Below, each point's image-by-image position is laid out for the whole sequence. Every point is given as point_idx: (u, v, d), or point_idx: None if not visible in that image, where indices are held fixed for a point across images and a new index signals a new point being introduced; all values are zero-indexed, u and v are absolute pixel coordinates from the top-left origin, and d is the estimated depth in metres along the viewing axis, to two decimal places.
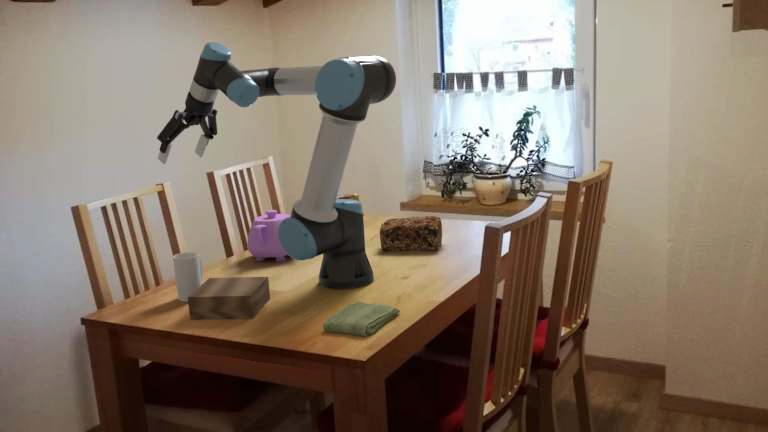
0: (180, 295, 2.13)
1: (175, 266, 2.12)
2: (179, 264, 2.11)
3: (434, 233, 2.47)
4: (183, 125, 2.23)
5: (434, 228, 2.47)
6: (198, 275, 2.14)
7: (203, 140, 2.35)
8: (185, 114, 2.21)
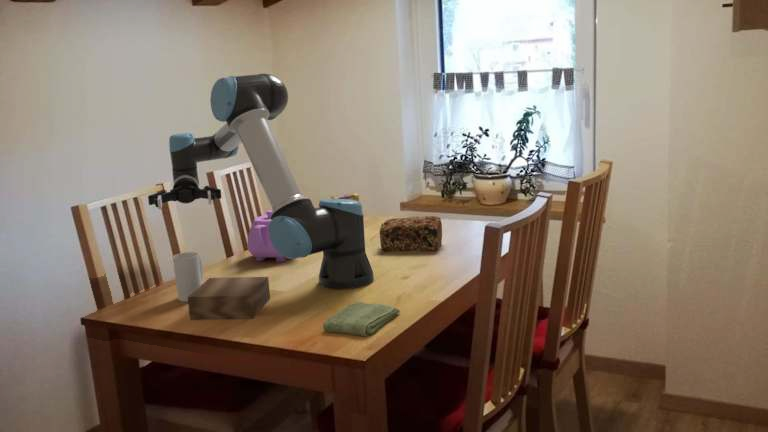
0: (180, 295, 2.13)
1: (175, 266, 2.12)
2: (179, 264, 2.11)
3: (434, 233, 2.47)
4: None
5: (433, 228, 2.47)
6: (198, 275, 2.14)
7: None
8: None
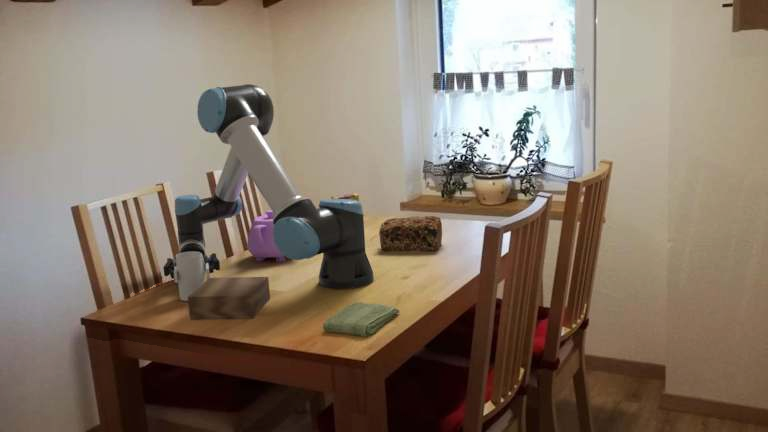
0: (181, 294, 2.13)
1: (178, 265, 2.12)
2: (182, 263, 2.11)
3: (434, 233, 2.47)
4: None
5: (433, 228, 2.47)
6: (200, 275, 2.14)
7: None
8: None
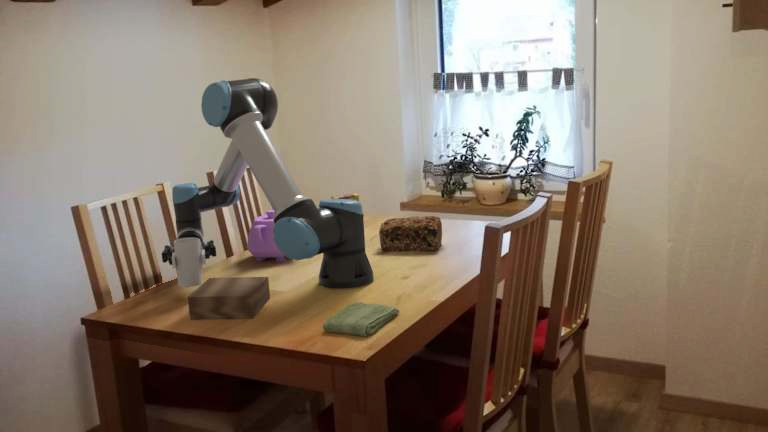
0: (180, 280, 2.12)
1: (176, 250, 2.11)
2: (180, 248, 2.10)
3: (433, 233, 2.47)
4: None
5: (433, 228, 2.47)
6: (199, 260, 2.13)
7: None
8: (173, 247, 2.26)
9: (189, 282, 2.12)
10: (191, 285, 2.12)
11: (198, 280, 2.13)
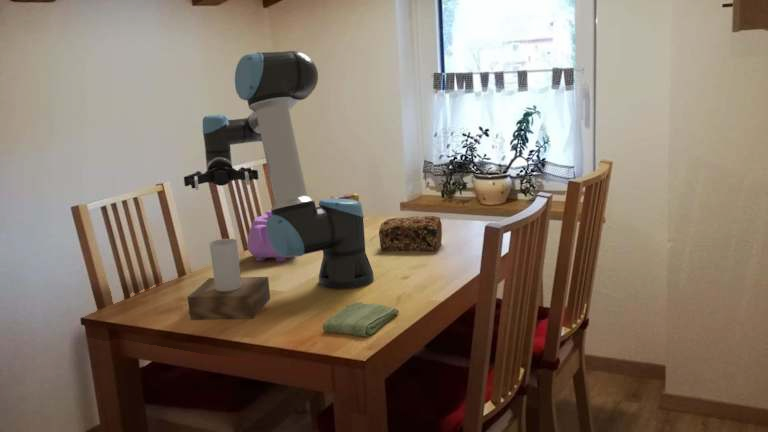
0: (218, 285, 1.99)
1: (213, 254, 1.98)
2: (218, 251, 1.97)
3: (433, 233, 2.47)
4: None
5: (433, 228, 2.47)
6: (237, 263, 2.00)
7: None
8: None
9: (228, 287, 1.99)
10: (231, 289, 2.00)
11: (237, 284, 2.01)
